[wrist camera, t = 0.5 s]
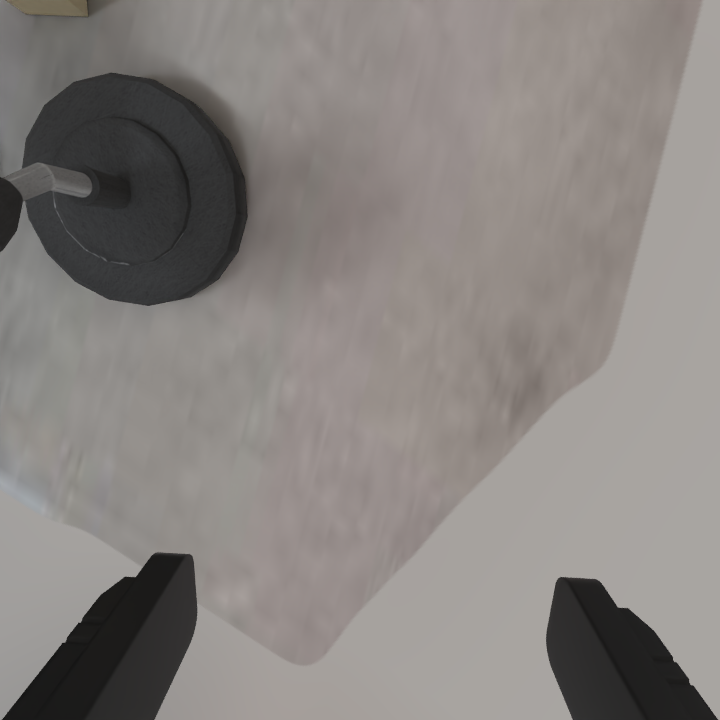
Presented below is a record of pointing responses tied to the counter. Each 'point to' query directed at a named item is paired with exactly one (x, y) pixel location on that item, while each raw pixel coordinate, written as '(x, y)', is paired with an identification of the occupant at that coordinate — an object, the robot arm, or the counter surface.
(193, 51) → the counter surface
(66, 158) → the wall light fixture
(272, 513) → the counter surface
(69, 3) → the pad
